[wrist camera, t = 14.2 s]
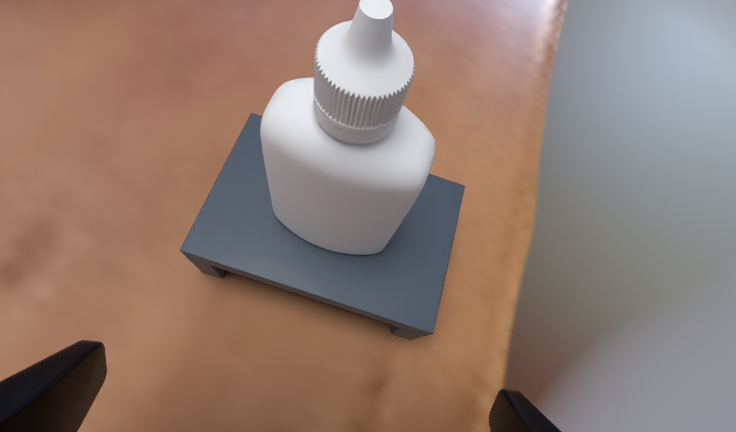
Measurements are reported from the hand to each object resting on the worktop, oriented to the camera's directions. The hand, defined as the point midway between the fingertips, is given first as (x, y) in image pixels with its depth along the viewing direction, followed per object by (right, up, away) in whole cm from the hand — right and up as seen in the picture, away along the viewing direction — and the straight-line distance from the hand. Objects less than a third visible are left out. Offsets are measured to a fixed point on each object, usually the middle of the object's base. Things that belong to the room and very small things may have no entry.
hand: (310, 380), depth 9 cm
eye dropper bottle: (0, +4, +10) cm, 11 cm away
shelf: (-1, +2, +14) cm, 14 cm away
